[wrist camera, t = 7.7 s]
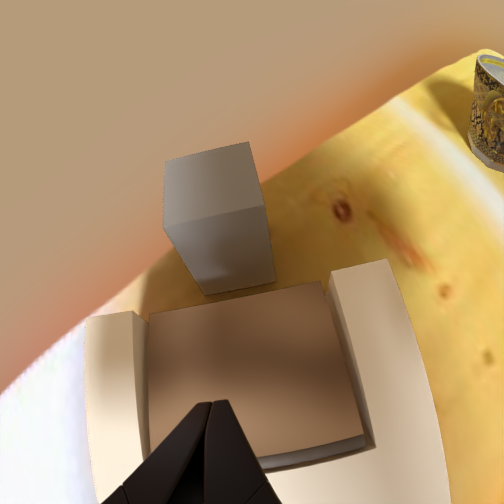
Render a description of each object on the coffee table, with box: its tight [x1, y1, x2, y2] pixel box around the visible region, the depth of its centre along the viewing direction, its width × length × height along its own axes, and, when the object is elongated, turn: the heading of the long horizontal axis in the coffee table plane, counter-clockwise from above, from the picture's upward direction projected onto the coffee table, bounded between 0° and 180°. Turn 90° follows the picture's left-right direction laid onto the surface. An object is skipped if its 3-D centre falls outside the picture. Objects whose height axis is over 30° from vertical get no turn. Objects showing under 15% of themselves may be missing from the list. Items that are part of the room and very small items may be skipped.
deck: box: [85, 258, 451, 504], centre depth 14 cm, size 14×16×6 cm
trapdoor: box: [148, 281, 366, 469], centre depth 13 cm, size 9×9×1 cm
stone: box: [163, 142, 276, 296], centre depth 19 cm, size 5×5×8 cm
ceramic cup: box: [468, 54, 504, 173], centre depth 21 cm, size 13×10×10 cm
